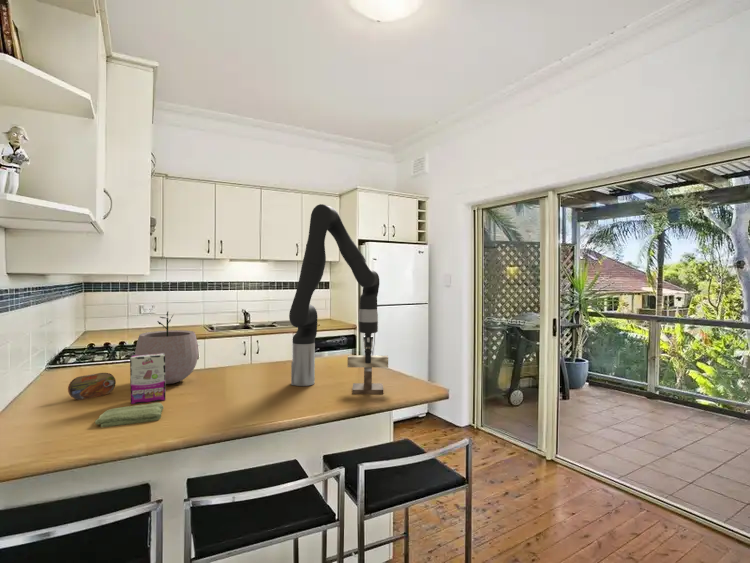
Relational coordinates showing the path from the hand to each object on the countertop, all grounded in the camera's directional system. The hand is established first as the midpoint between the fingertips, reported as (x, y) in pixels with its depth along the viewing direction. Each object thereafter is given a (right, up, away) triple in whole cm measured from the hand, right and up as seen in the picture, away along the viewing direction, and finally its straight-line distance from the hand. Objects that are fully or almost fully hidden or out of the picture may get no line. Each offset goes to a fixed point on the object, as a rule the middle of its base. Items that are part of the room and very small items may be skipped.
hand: (368, 361), depth 171 cm
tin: (-102, -11, -12) cm, 103 cm away
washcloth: (-74, -12, -35) cm, 83 cm away
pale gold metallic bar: (0, -2, 0) cm, 2 cm away
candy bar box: (-79, -11, -16) cm, 81 cm away
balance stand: (0, -12, 0) cm, 12 cm away
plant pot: (-84, -11, +9) cm, 86 cm away
